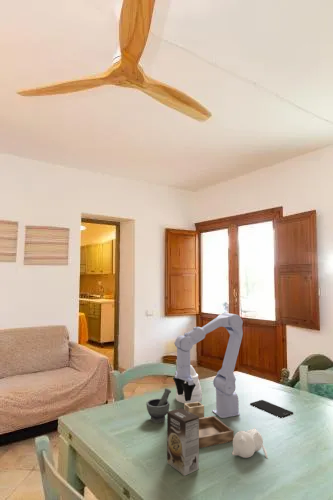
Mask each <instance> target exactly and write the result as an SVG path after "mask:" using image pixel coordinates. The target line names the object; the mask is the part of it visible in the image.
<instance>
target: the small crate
mask: <svg viewBox="0 0 333 500" xmlns="http://www.w3.org/2000/svg"><path fill="white" fill-rule="evenodd" d="M183 404H184V406H183V407H184V408H183V409H185V410H187V411H189V412H190V413H192V414H194V415H196V416H198V417H199V418H203V417H205V405H204V404H203V403H201V401H200V402H192V403H183Z"/></svg>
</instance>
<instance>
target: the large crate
mask: <svg viewBox="0 0 333 500" xmlns="http://www.w3.org/2000/svg"><path fill="white" fill-rule="evenodd" d="M234 432H235V431H234V430H233V429H232V428H231V427H230V426H227V424H225V423H224V422H223V421H222V420H221V419H219V418H218V417H216V416H215V415H210V416H204V417H203V418H199V449H203V448H208V447H213V446H218V445H221V444H226V443H227V444H228V443H230V442H231V443H233V438H234V436H235V433H234Z"/></svg>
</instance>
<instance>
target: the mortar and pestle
mask: <svg viewBox="0 0 333 500" xmlns="http://www.w3.org/2000/svg"><path fill="white" fill-rule="evenodd" d="M171 392H172V390H171V389H169V388H164V392H163V394H162V396H161V398H151V399H150V400H148V401H146V404H145V405H146V410H147V412H148V415H149V416H150V421H151V423H156V424H158V423H159V424H160V423H164V422H165V421H166V417H165V416H166V415H167V412H169V411H170V402H169V395H170V394H171Z"/></svg>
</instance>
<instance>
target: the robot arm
mask: <svg viewBox="0 0 333 500" xmlns="http://www.w3.org/2000/svg"><path fill="white" fill-rule="evenodd" d="M243 323H244V320H243V319H242V318H241V316H240V315H239V314H235V313H231V312H230V313H229V312H223V313H221V314H219V315H217V317H215V318H214V319H212V320H211V321H209V322H208V323H207V324H205V325H202V327H200V326H194V327H192V329H191V330H189V331H187V332H184V334H182V335H178V336H177V337H176V339H175V341H174V345H175V347H176V370H175V371H174V377H173V378H172V380H173V381H174V384H175V389H176V388H177V393H178V395H182V394H183V391H184V396H185V401H190V400H191V396H192V392H193V389H194V387H195V383H193V379H192V377H191V371H190V365H191V350H192V348H193V346H194V345H197V344H198V343H199V342H200V341H203V340H204V339H205V338H206V335H208V334H209V333H211V332H213V331H215V330H216V329H218V328H221V327H222V328H225V329H226V331H227V332H228V334H229V338H228V341H227V347H226V350H225V353H224V358H223V361H222V366H221V368H220V369H219V370H218V371H217V373H216V375H215V376H214V378H213V381H212V384H213V387H214V388H215V395H216V396H215V401H216V402H215V404H216V405H215V406H216V407H215V409H212V412H213V413H214V414H215V415H216V416H218V417H219V418H220V419H225V418H230V417H235V416H240V411H239V409H240V408H239V404H240V403H239V397H238V394H237V393H236V391H235V390H236V381H237V379H236V376H235V374H234V370H235V367H236V364H237V360H238V356H239V351H240V348H241V343H242V339H243V336H244V335H243V334H244V331H243ZM185 381H186V383H185Z"/></svg>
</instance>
